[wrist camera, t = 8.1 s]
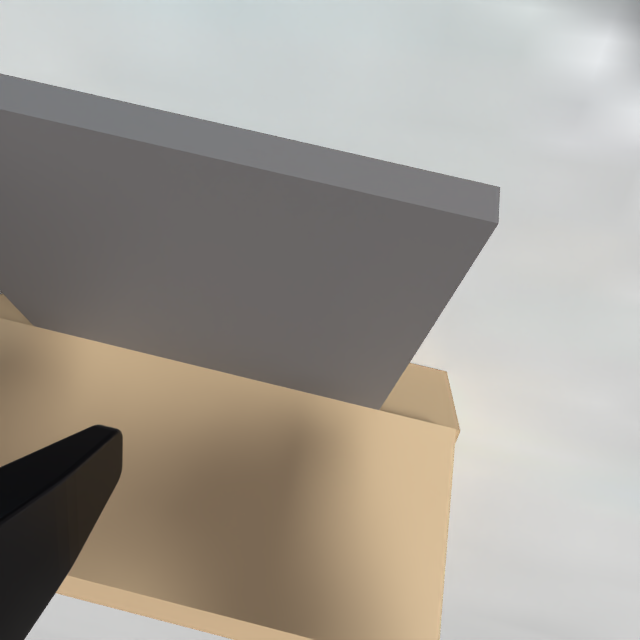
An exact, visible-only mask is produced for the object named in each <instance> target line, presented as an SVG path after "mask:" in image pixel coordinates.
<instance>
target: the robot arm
mask: <svg viewBox="0 0 640 640" xmlns="http://www.w3.org/2000/svg"><path fill="white" fill-rule="evenodd" d="M122 464H123V435H122V432H121V431H120V430H119V429H117V428H113V427H109V426H104V425H98V424H97V425H93V426H91V427H88V428H86V429H84V430H82V431H80V432H77V433H75V434H73V435H71V436H68V437H66V438H64V439H62V440H59V441H57V442H55V443H53V444H51V445H48V446H46V447H44V448H42V449H39V450H37V451H35V452H33V453H30V454H28V455H26V456H24V457H22V458H19V459H17V460H15V461H13V462H10V463H8V464H6V465H4V466H1V467H0V640H24V639H25V638H26V636H27V635H28V633H29V632H30V630H31V629H32V627H33V626H34V624H35V623H36V621H37V620H38V618H39V617H40V615H41V614H42V612H43V611H44V609H45V608H46V606H47V605H48V603H49V602H50V600H51V599H52V597H53V596H54V594H55V593H56V591H57V590H58V588H59V587H60V585H61V584H62V582H63V581H64V579H65V578H66V576H67V575H68V573H69V571H70V570H71V568H72V566H73V565H74V563H75V561H76V559H77V558H78V556H79V554H80V552H81V550H82V548H83V546H84V545H85V543H86V541H87V539H88V537H89V535H90V533H91V532H92V530H93V528H94V526H95V524H96V522H97V520H98V519H99V517H100V515H101V513H102V511H103V509H104V507H105V505H106V504H107V502H108V500H109V498H110V496H111V494H112V492H113V491H114V489H115V487H116V485H117V483H118V481H119V479H120V476H121V473H122Z"/></svg>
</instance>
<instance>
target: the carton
mask: <svg viewBox="0 0 640 640" xmlns="http://www.w3.org/2000/svg"><path fill="white" fill-rule="evenodd" d="M0 318H2V319H6V320H10V321H14V322H19V323H23V324H27V325H31V326H33V325H32V324H31V323H30V322H29V320H28V319H27V318H26V317H25V316H24V315H23V314H22V313H21V312H20V311H19V310H18V309H17V308H16V307H15V306H14V305H13V304H12V303H11V302H10V301H9V300H8V299H7V297H6V296H5V295H4V294H1V295H0ZM380 411H384V412H388V413H392V414H396V415H401V416H405V417H409V418H413V419H417V420H421V421H425V422H429V423H433V424H437V425H442V426H446V427H450V428H454V429H456V436H455V442H456V440H457V438H458V435H459V433H460V428H459V423H458V419H457V415H456V410H455V406H454V402H453V397H452V393H451V389H450V384H449V380H448V375H447V372H445V371H441V370H437V369H433V368H429V367H425V366H420V365H416V364H412V363H409V364H408V366H407V367H406V369H405V371H404V372H403V374H402V375H401V377H400V378H399V380H398V382H397V383H396V385H395V386H394V388H393V389H392V391H391V392H390V394H389V396H388V397H387V399H386V400H385V402H384V403H383V405H382V407H381V408H380ZM56 593H58V594H61V595H65V596H69V597H73V598H77V599H81V600H84V601H88V602H92V603H96V604H100V605H104V606H107V607H111V608H115V609H119V610H123V611H127V612H130V613H134V614H138V615H142V616H146V617H150V618H153V619H157V620H161V621H165V622H169V623H173V624H176V625H180V626H184V627H188V628H192V629H196V630H199V631H203V632H207V633H211V634H215V635H219V636H222V637H226V638H230V639H234V640H314V639H311V638H307V637H303V636H299V635H295V634H291V633H287V632H284V631H280V630H276V629H272V628H268V627H264V626H260V625H257V624H253V623H249V622H245V621H241V620H237V619H234V618H230V617H226V616H222V615H218V614H214V613H210V612H207V611H203V610H199V609H195V608H191V607H187V606H183V605H180V604H176V603H172V602H168V601H164V600H160V599H156V598H153V597H149V596H145V595H141V594H137V593H133V592H129V591H126V590H122V589H118V588H114V587H110V586H106V585H102V584H99V583H95V582H91V581H87V580H83V579H79V578H76V577H72V576H68V575H67V576H66V578H65V579H64V581H63V582H62V584H61V585H60V587H59V588H58V590H57V591H56Z"/></svg>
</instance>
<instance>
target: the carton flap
mask: <svg viewBox="0 0 640 640" xmlns="http://www.w3.org/2000/svg"><path fill="white" fill-rule="evenodd" d="M499 197H500V187H497V186H493V185H488V184H484V183H479V182H475V181H471V180H466V179H462V178H457V177H453V176H449V175H444V174H440V173H435V172H431V171H427V170H422V169H418V168H413V167H409V166H405V165H400V164H396V163H391V162H387V161H383V160H378V159H374V158H369V157H365V156H361V155H356V154H352V153H347V152H343V151H339V150H334V149H330V148H325V147H321V146H317V145H312V144H308V143H303V142H299V141H295V140H290V139H286V138H281V137H277V136H273V135H268V134H264V133H259V132H255V131H251V130H246V129H242V128H237V127H233V126H229V125H224V124H220V123H215V122H211V121H207V120H202V119H198V118H193V117H189V116H185V115H180V114H176V113H171V112H167V111H163V110H158V109H154V108H149V107H145V106H141V105H136V104H132V103H127V102H123V101H119V100H114V99H110V98H105V97H101V96H97V95H92V94H88V93H83V92H79V91H75V90H70V89H66V88H61V87H57V86H53V85H48V84H44V83H39V82H35V81H31V80H26V79H22V78H17V77H13V76H9V75H4V74H0V291H1V292H2V293H3V294H4V295H5V296H6V297H7V299H8V300H9V301H10V302H11V303H12V304H13V305H14V306H15V307H16V308H17V309H18V310H19V311H20V312H21V313H22V314H23V315H24V316H25V317H26V318H27V319H28V320H29V322H30V323H31V324H32V325H33V326H31V325H27V324H23V323H19V322H14V321H10V320H6V319H2V318H0V467H1V466H4V465H6V464H8V463H10V462H13V461H15V460H17V459H19V458H22V457H24V456H26V455H28V454H30V453H33V452H35V451H37V450H39V449H42V448H44V447H46V446H48V445H51V444H53V443H55V442H57V441H59V440H62V439H64V438H66V437H68V436H71V435H73V434H75V433H77V432H80V431H82V430H84V429H86V428H88V427H91V426H93V425H97V424H98V425H104V426H109V427H113V428H117V429H119V430H120V431H121V432H122V435H123V464H122V473H121V476H120V479H119V481H118V483H117V485H116V487H115V489H114V491H113V492H112V494H111V496H110V498H109V500H108V502H107V504H106V505H105V507H104V509H103V511H102V513H101V515H100V517H99V519H98V520H97V522H96V524H95V526H94V528H93V530H92V532H91V533H90V535H89V537H88V539H87V541H86V543H85V545H84V546H83V548H82V550H81V552H80V554H79V556H78V558H77V559H76V561H75V563H74V565H73V566H72V568H71V570H70V571H69V573H68V576H72V577H76V578H79V579H83V580H87V581H91V582H95V583H99V584H102V585H106V586H110V587H114V588H118V589H122V590H126V591H129V592H133V593H137V594H141V595H145V596H149V597H153V598H156V599H160V600H164V601H168V602H172V603H176V604H180V605H183V606H187V607H191V608H195V609H199V610H203V611H207V612H210V613H214V614H218V615H222V616H226V617H230V618H234V619H237V620H241V621H245V622H249V623H253V624H257V625H260V626H264V627H268V628H272V629H276V630H280V631H284V632H287V633H291V634H295V635H299V636H303V637H307V638H311V639H314V640H439V639H440V627H441V614H442V601H443V588H444V576H445V563H446V550H447V538H448V525H449V512H450V499H451V487H452V474H453V461H454V448H455V436H456V429H454V428H450V427H446V426H442V425H437V424H433V423H429V422H425V421H421V420H417V419H413V418H409V417H405V416H401V415H396V414H392V413H388V412H384V411H380V408H381V407H382V405H383V403H384V402H385V400H386V399H387V397H388V396H389V394H390V392H391V391H392V389H393V388H394V386H395V385H396V383H397V382H398V380H399V378H400V377H401V375H402V374H403V372H404V371H405V369H406V367H407V366H408V364H409V363H410V361H411V360H412V358H413V356H414V355H415V353H416V352H417V350H418V349H419V347H420V345H421V344H422V342H423V341H424V339H425V338H426V336H427V335H428V333H429V331H430V330H431V328H432V327H433V325H434V324H435V322H436V320H437V319H438V317H439V316H440V314H441V313H442V311H443V309H444V308H445V306H446V305H447V303H448V302H449V300H450V298H451V297H452V295H453V294H454V292H455V291H456V289H457V288H458V286H459V284H460V283H461V281H462V280H463V278H464V277H465V275H466V273H467V272H468V270H469V269H470V267H471V266H472V264H473V262H474V261H475V259H476V258H477V256H478V255H479V253H480V251H481V250H482V248H483V247H484V245H485V244H486V242H487V241H488V239H489V237H490V236H491V234H492V233H493V231H494V230H495V228H496V226H497V225H498V221H499Z"/></svg>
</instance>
